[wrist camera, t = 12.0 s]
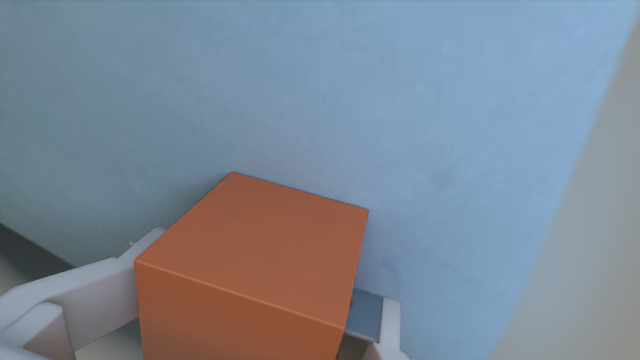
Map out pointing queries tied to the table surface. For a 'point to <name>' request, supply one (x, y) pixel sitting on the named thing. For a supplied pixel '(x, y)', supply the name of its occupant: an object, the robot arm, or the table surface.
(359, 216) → the block
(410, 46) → the table surface
